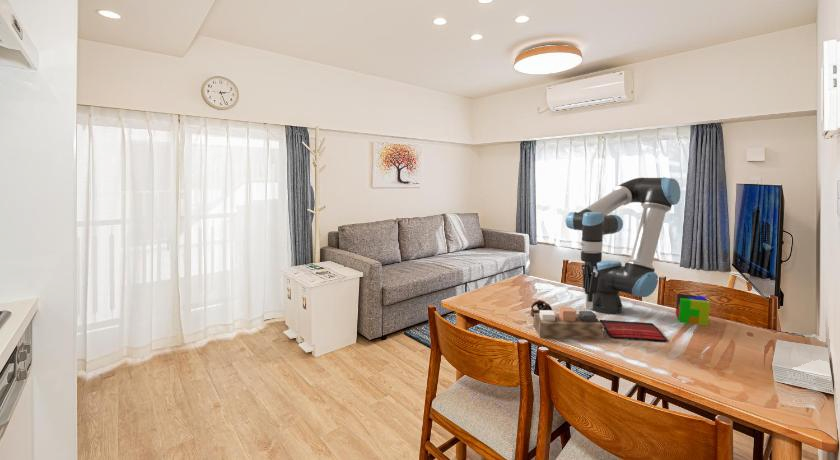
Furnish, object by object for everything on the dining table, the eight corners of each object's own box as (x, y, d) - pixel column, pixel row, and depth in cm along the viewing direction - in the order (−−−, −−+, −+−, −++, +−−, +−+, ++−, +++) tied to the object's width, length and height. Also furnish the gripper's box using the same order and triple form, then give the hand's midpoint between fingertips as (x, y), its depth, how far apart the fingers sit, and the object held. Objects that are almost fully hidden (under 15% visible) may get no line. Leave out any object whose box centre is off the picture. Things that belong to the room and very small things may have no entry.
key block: (591, 327, 161) (592, 314, 160) (602, 339, 150) (602, 324, 149) (533, 326, 162) (534, 313, 161) (539, 337, 151) (540, 323, 151)
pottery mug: (557, 320, 170) (551, 307, 167) (537, 328, 172) (530, 315, 169) (550, 305, 181) (543, 292, 178) (531, 312, 183) (524, 299, 180)
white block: (551, 324, 158) (551, 310, 158) (554, 329, 154) (555, 314, 153) (539, 323, 159) (539, 310, 158) (541, 328, 154) (542, 314, 153)
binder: (599, 319, 165) (652, 322, 162) (599, 324, 166) (652, 327, 162) (610, 335, 150) (669, 339, 146) (610, 341, 150) (668, 345, 147)
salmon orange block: (571, 321, 158) (571, 307, 157) (575, 325, 153) (576, 311, 152) (558, 320, 158) (559, 306, 157) (562, 325, 153) (563, 311, 152)
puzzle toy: (702, 318, 171) (704, 296, 170) (707, 326, 162) (710, 303, 161) (675, 314, 175) (677, 293, 174) (679, 322, 166) (681, 300, 165)
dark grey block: (590, 325, 157) (591, 311, 156) (595, 329, 152) (596, 315, 152) (578, 324, 158) (579, 310, 157) (582, 329, 153) (583, 315, 152)
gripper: (576, 247, 157) (573, 302, 161) (587, 254, 144) (584, 314, 148) (594, 247, 157) (592, 302, 160) (608, 254, 144) (604, 314, 147)
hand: (588, 308), depth 154 cm, fingers closed
